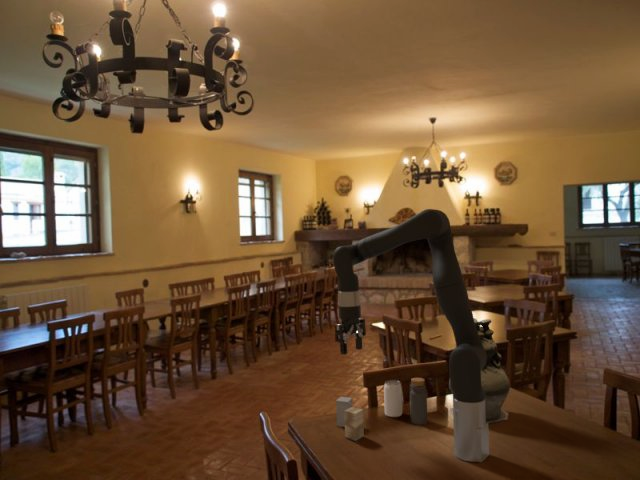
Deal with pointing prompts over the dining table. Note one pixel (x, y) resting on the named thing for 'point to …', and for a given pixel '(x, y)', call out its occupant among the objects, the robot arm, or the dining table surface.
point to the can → (393, 398)
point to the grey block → (342, 409)
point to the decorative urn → (491, 376)
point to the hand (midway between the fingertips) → (351, 351)
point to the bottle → (418, 402)
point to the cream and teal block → (354, 424)
